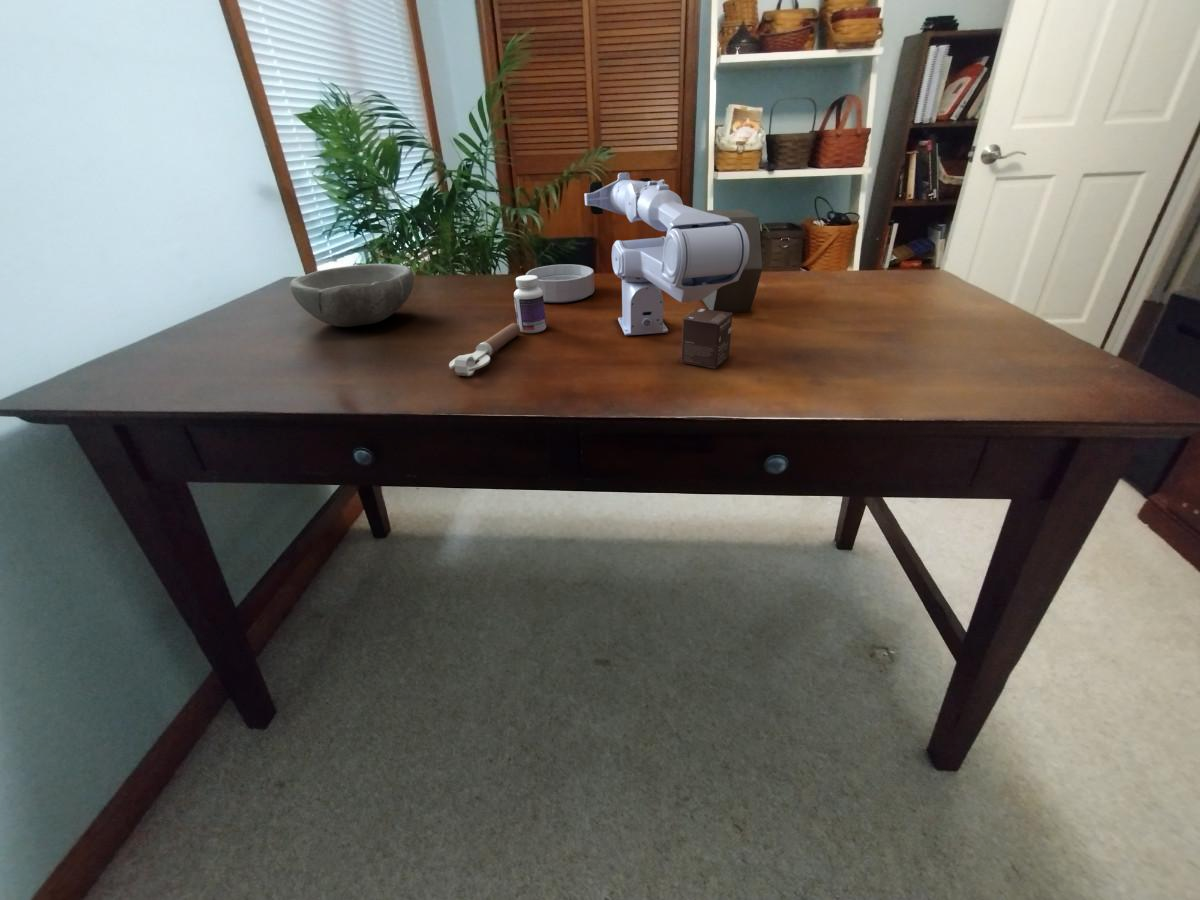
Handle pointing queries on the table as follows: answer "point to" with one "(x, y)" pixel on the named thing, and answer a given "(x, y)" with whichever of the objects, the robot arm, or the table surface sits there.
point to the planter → (743, 290)
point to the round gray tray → (564, 282)
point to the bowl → (354, 293)
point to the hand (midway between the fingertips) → (612, 194)
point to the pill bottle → (529, 305)
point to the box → (706, 338)
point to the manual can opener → (483, 351)
